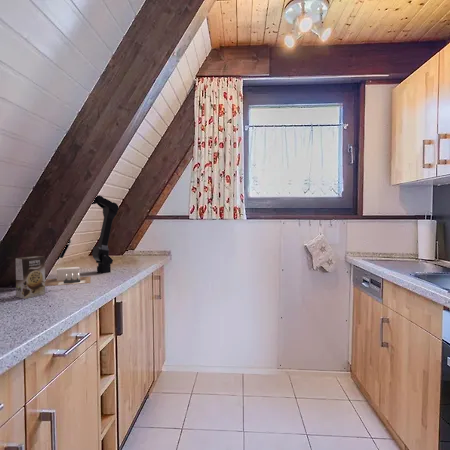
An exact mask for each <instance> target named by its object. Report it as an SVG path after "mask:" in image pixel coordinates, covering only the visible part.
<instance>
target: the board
mask: <svg viewBox="0 0 450 450" xmlns="http://www.w3.org/2000/svg"><path fill="white" fill-rule="evenodd" d="M91 282H92V281H91V276H80V282H77V283H64V281H57V278H47V279H46V278H45V287H52V286H53V287H55V286H68V285H82V284H83V285H84V284H91Z"/></svg>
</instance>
